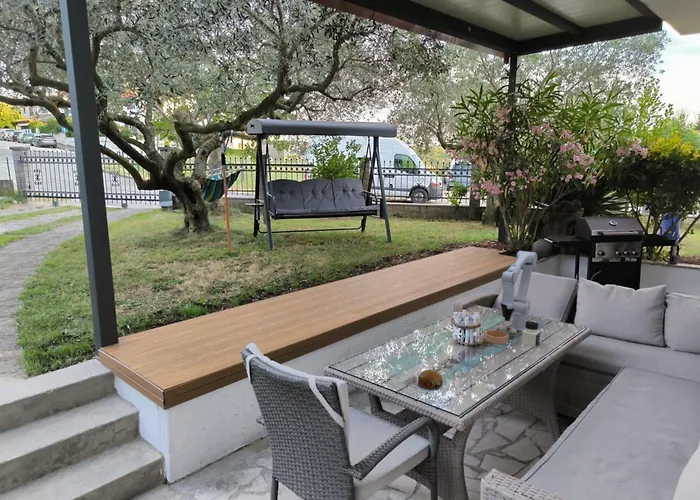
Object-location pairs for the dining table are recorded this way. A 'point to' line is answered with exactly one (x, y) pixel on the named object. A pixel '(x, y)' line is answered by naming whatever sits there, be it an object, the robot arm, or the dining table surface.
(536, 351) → the dining table surface
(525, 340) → the medicine bottle
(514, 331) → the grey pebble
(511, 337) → the parts tray
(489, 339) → the bowl
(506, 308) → the robot arm
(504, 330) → the cream pebble
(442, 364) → the dining table surface
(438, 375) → the bread roll
